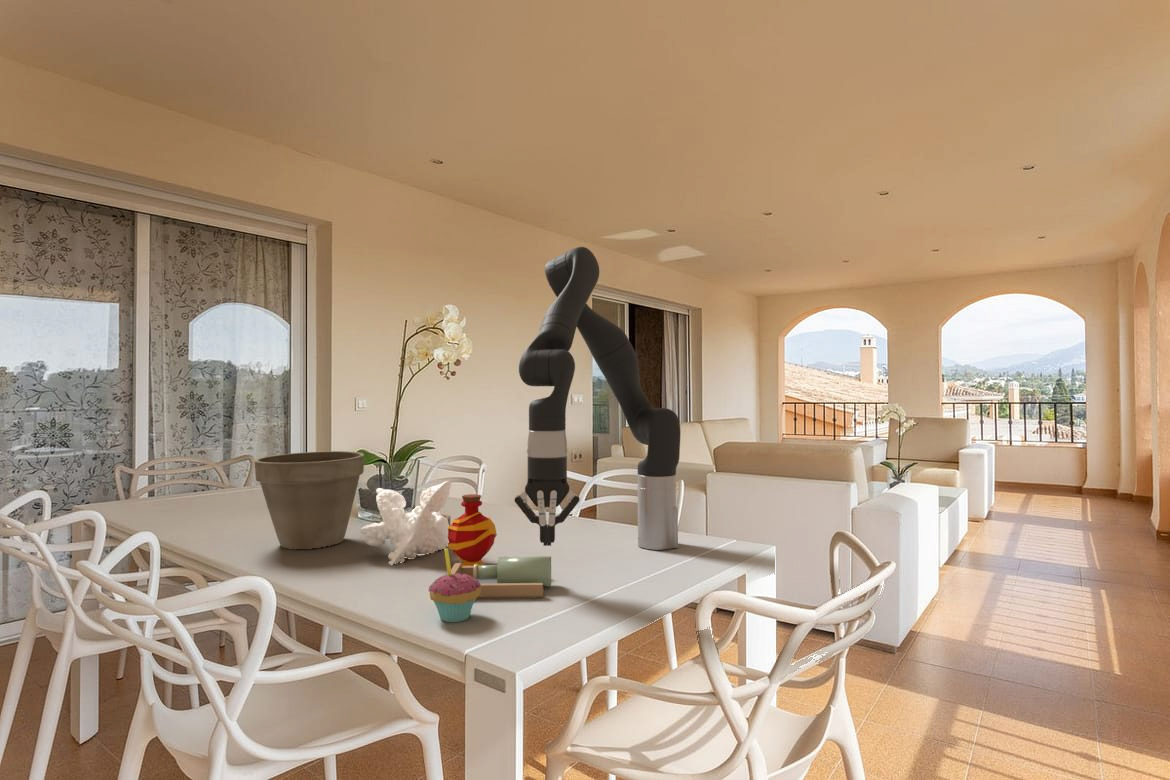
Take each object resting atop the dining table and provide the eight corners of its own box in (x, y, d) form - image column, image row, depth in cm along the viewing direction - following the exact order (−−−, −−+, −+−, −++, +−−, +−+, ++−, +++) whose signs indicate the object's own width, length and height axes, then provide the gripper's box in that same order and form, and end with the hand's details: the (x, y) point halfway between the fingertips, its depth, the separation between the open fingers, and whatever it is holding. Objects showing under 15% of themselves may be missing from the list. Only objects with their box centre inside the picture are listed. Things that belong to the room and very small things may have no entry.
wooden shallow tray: (545, 577, 131) (545, 562, 131) (542, 598, 118) (542, 581, 118) (455, 578, 130) (455, 563, 130) (442, 599, 117) (442, 582, 117)
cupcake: (418, 622, 105) (418, 548, 105) (447, 606, 113) (447, 537, 113) (464, 629, 102) (464, 553, 102) (491, 612, 110) (490, 541, 110)
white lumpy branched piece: (468, 504, 163) (444, 470, 146) (459, 584, 152) (432, 558, 136) (395, 507, 165) (364, 474, 148) (382, 586, 154) (346, 560, 138)
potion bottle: (474, 574, 133) (473, 501, 133) (437, 567, 138) (437, 497, 138) (506, 563, 141) (506, 494, 141) (470, 556, 147) (470, 490, 147)
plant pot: (257, 561, 144) (256, 463, 144) (252, 539, 165) (252, 454, 165) (373, 547, 156) (373, 457, 156) (354, 528, 178) (354, 449, 178)
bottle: (551, 552, 127) (476, 553, 126) (550, 561, 121) (472, 562, 121) (551, 580, 127) (476, 581, 126) (550, 589, 121) (472, 590, 121)
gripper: (581, 452, 128) (581, 540, 128) (514, 452, 128) (514, 540, 128) (582, 455, 120) (582, 549, 120) (510, 456, 120) (510, 549, 120)
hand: (547, 544), depth 124 cm, fingers closed
